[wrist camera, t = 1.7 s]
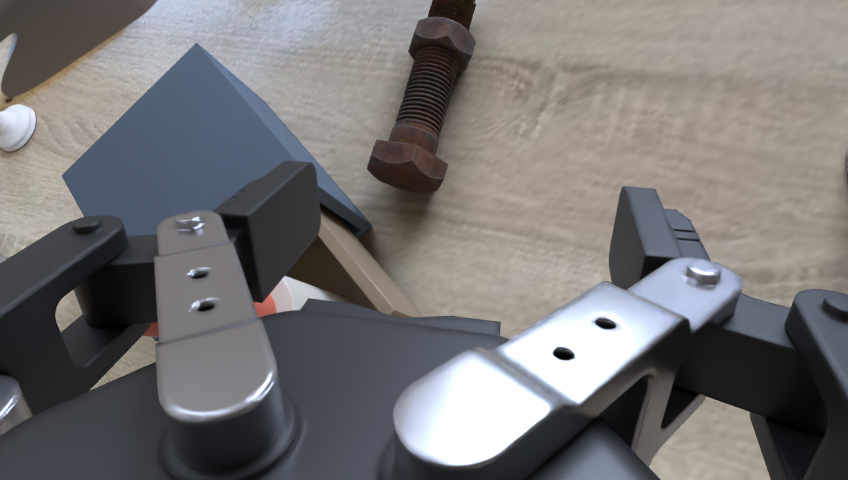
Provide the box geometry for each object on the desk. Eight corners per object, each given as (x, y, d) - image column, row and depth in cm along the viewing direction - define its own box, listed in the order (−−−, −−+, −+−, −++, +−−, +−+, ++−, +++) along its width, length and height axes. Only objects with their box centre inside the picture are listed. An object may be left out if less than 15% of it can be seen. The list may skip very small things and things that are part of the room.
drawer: (507, 398, 33) (487, 400, 27) (361, 533, 33) (306, 566, 27) (336, 198, 40) (288, 162, 34) (218, 311, 41) (149, 296, 34)
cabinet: (372, 225, 40) (316, 184, 32) (240, 350, 40) (154, 340, 32) (265, 102, 46) (196, 42, 38) (152, 212, 46) (61, 175, 38)
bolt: (475, 28, 43) (428, 200, 40) (416, 5, 43) (363, 179, 39) (501, -17, 38) (447, 178, 35) (433, -44, 37) (372, 153, 34)
